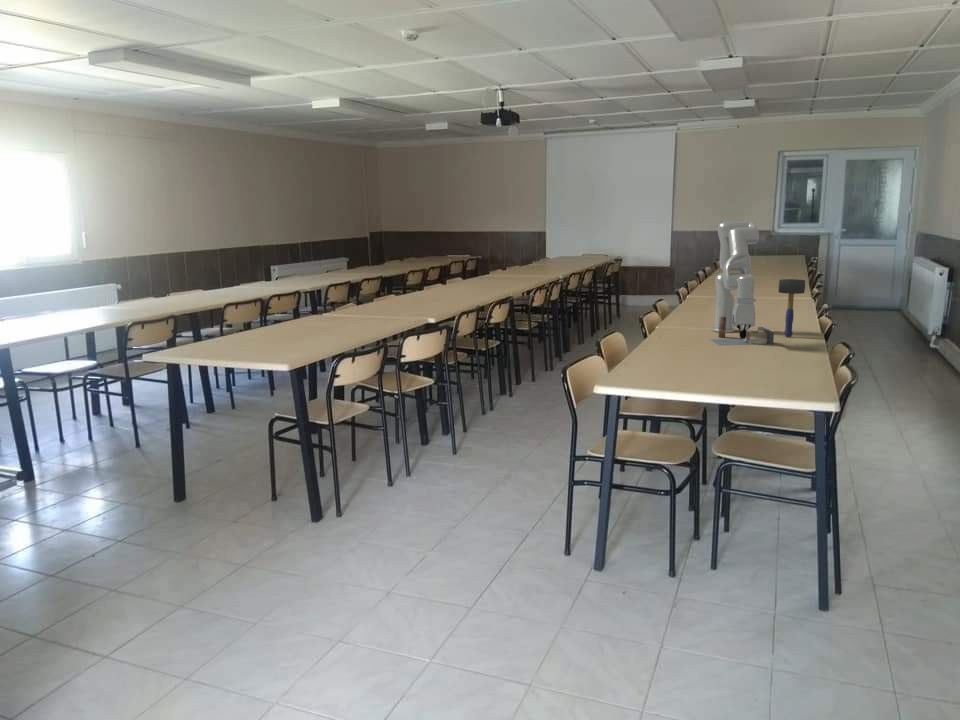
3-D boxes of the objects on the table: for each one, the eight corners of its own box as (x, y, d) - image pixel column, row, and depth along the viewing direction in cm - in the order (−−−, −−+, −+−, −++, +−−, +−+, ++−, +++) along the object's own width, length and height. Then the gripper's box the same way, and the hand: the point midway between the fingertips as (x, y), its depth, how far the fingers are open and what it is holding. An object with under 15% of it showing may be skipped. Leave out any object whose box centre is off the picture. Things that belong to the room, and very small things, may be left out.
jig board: (709, 342, 354) (710, 327, 353) (761, 341, 354) (762, 326, 353) (719, 348, 340) (719, 333, 338) (772, 347, 339) (774, 332, 338)
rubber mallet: (801, 336, 365) (805, 278, 359) (801, 338, 358) (805, 280, 352) (775, 335, 370) (779, 278, 364) (774, 337, 363) (778, 279, 357)
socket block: (744, 340, 350) (745, 330, 349) (760, 340, 350) (761, 330, 348) (750, 343, 342) (751, 333, 341) (766, 343, 342) (767, 333, 341)
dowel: (717, 339, 361) (718, 316, 359) (723, 339, 361) (725, 316, 359) (719, 340, 358) (720, 317, 356) (725, 340, 358) (727, 317, 356)
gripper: (757, 300, 345) (755, 336, 349) (726, 300, 346) (725, 337, 350) (763, 301, 338) (760, 339, 342) (731, 302, 339) (729, 339, 342)
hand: (742, 338), depth 346 cm, fingers closed
